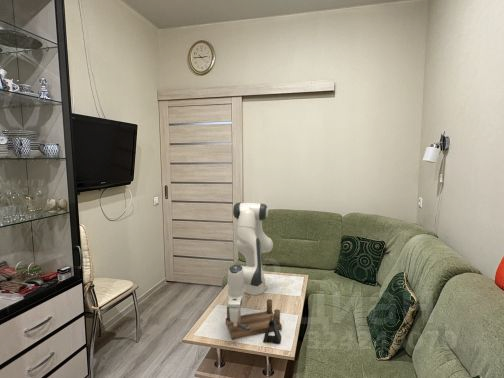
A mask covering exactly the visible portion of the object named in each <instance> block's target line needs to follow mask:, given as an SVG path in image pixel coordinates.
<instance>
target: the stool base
mask: <svg viewBox="0 0 504 378" xmlns="http://www.w3.org/2000/svg"><path fill="white" fill-rule="evenodd" d="M271 316H272V320H273V317H274V316H275V317H276V323H277V326H278V329H279V331H282V330H283V329H282V328H283V327H282V326H283V325H282V323H281V310H280V309H279V308H277V309H274V310H273V300H272V299H266V310H265V311H259V312H254V313H247V314H241V323H242V324H245V325H249V326H250V329H249V330H246V329H245V328H242V327H239V326H237V327H236V326H234V325H233V322H231V321H230V313H229V307H228V305H227V306H226V317H225V324H226V327H227V329H228V332H229V335H230V337H231V339H232V340H236V339H242V338H246V337H247V338H249V337H252V336H258V335H262V334H265V333H266V330H267V328H268V325H269V321H270V317H271ZM269 333H274V331H273V328H270V331H269Z"/></svg>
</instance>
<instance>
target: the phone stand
mask: <svg viewBox="0 0 504 378" xmlns="http://www.w3.org/2000/svg"><path fill="white" fill-rule="evenodd" d="M270 328H273V331H274V332H273V333H274V335H269V334H270V332H269V331H270ZM280 331H281V330H279V329H278V326H277V323H276V317H275V316H274V317H273V320H272V316H271V317H270V321H269V325H268V328H267V330H266V333H264V336H263V339H262V343H268V344H275V345H281V342H282V334H281V332H280Z"/></svg>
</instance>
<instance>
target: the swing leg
mask: <svg viewBox="0 0 504 378" xmlns="http://www.w3.org/2000/svg"><path fill="white" fill-rule="evenodd" d="M241 315H242V313H241V310H240V313H239V317H238V321H237V326H239V327H242V328H245V329H246V330H249V329H250V326H249V325H245V324H242V323H241ZM233 325H234V324H233ZM237 326H236V327H237Z"/></svg>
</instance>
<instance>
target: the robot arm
mask: <svg viewBox="0 0 504 378" xmlns="http://www.w3.org/2000/svg"><path fill="white" fill-rule="evenodd" d="M232 215H233V217H234V218H235V219H236V220H237V223H236V231H235V235H236V241H235V248H236V249H237V251H239V252H240V253H241V254H242V255H243V257H244V260H245V262H246V263H245V264H246V265H239V264H233V265H231V266H230V267H228V272H227V286H228V287H227V300H228V301H227V306H228V307H229V313H230V321H231V322H233V324H234V326H237V321H238V317H239V313H240V311H241V308H242V305H243V302H244V301H245V297H246V296H245V295H246V294H247V295H251V296H253V295H254V296H256V295H261V294H263V293H264V292H265V291H267V289H268V286H266V278H265V276H264V270H263V269H264V268H263V257H262V255H263V254H265V253H270V252H271V251H272V250H273V248H274V242H273V239H272V238H270V237H269V236H267V234H266V233H265V232H264V230H263V229H264V228H263V223H262V222H263V221H265V220H266V219H267V217H268V216H269V208H268V205H266V204H265V203H259V202H236V203H235V204H234V206H233V208H232Z"/></svg>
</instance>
